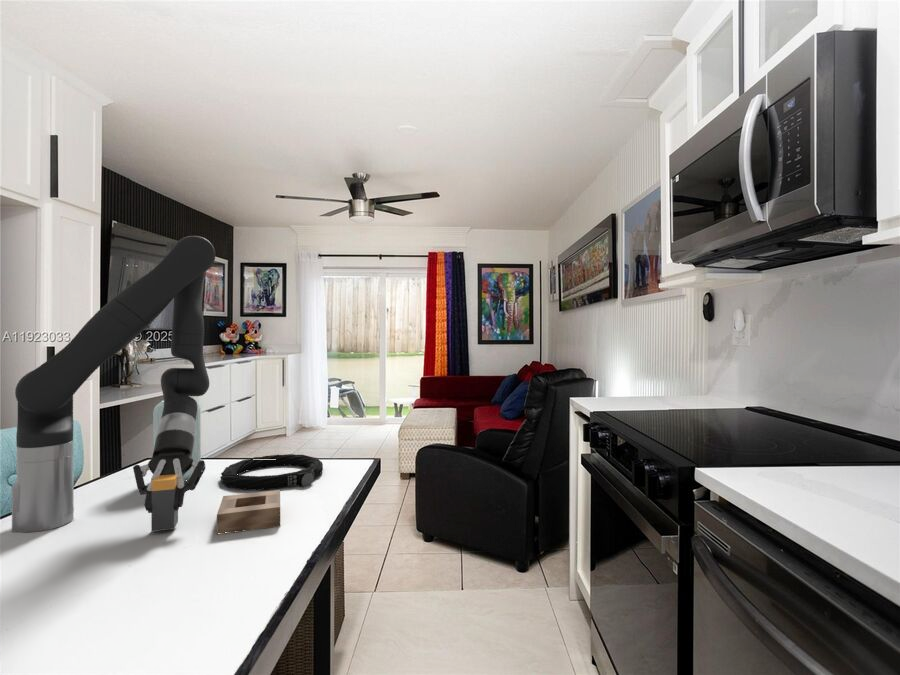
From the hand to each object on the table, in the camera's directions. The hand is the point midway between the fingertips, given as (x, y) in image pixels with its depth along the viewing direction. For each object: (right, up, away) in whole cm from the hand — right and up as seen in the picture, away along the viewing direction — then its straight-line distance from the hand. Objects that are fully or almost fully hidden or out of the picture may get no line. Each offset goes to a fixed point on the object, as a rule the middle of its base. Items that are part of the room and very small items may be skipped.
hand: (163, 509), depth 96 cm
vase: (-19, -5, +38) cm, 42 cm away
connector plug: (-1, -4, +2) cm, 5 cm away
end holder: (+15, -5, +7) cm, 17 cm away
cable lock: (+8, -6, +40) cm, 41 cm away
